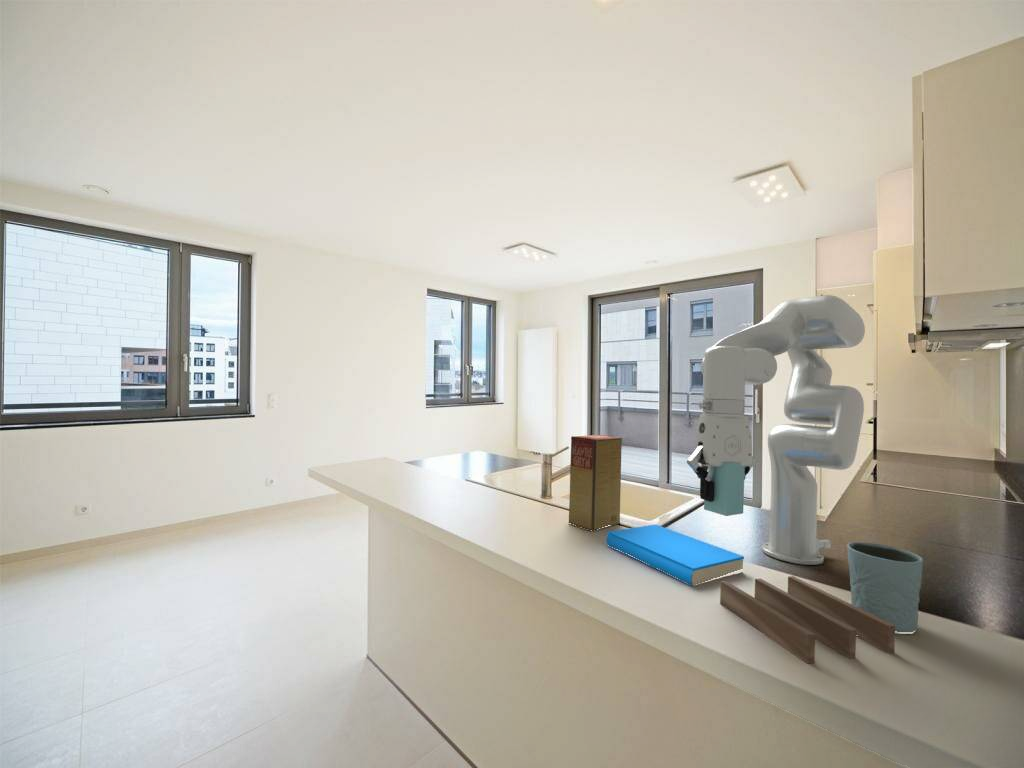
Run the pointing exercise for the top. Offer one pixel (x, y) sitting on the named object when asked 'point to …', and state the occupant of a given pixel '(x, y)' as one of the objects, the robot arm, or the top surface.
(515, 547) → the top surface
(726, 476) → the block
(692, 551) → the book
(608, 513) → the food packaging
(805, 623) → the slot rack
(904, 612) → the blue plant pot
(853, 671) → the top surface
